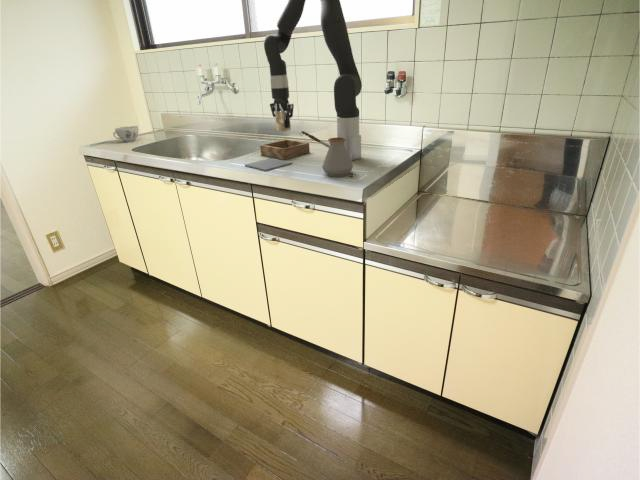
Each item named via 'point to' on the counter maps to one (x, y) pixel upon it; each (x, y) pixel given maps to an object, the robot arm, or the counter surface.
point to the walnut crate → (284, 149)
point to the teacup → (127, 133)
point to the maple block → (281, 122)
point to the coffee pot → (335, 157)
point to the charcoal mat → (268, 164)
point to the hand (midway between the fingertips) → (283, 127)
